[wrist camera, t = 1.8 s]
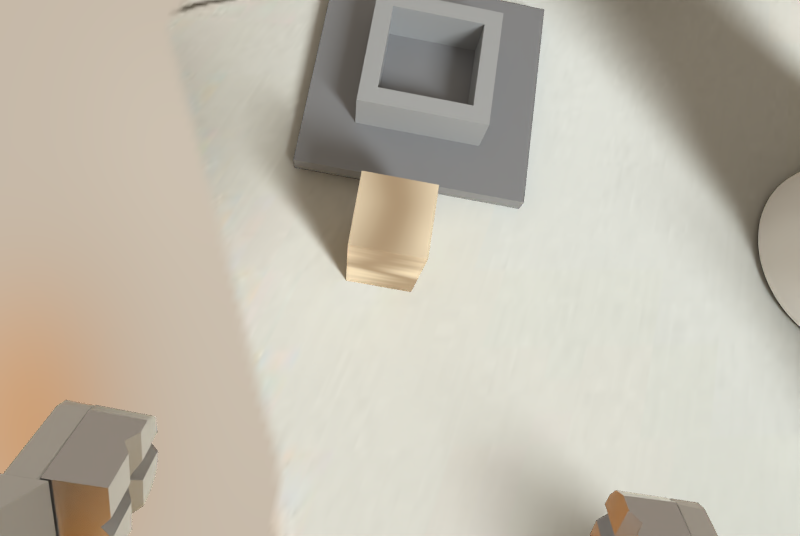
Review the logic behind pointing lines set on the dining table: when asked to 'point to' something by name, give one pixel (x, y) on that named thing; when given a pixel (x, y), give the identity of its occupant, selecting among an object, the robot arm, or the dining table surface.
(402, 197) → the wooden block
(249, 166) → the dining table surface
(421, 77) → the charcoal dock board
